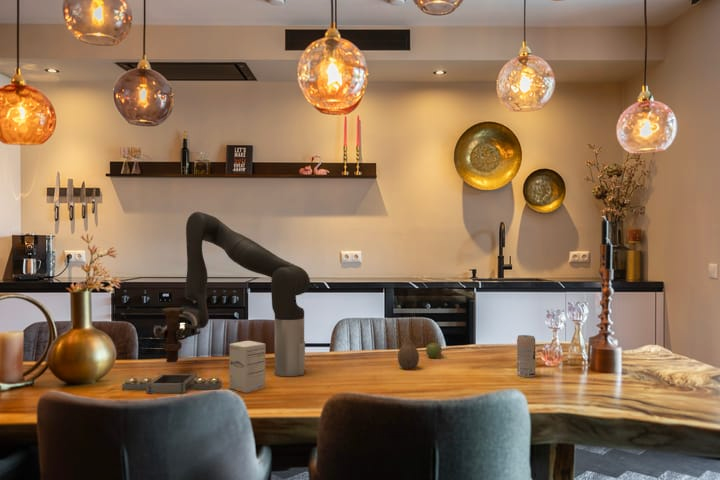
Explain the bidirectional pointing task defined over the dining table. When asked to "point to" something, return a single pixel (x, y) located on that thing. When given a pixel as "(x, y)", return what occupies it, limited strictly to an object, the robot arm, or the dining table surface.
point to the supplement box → (247, 366)
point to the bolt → (172, 333)
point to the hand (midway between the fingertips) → (170, 335)
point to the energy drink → (526, 356)
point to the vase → (408, 356)
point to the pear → (433, 350)
